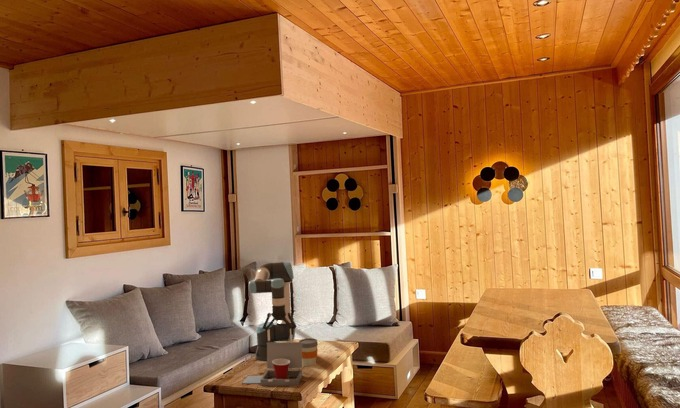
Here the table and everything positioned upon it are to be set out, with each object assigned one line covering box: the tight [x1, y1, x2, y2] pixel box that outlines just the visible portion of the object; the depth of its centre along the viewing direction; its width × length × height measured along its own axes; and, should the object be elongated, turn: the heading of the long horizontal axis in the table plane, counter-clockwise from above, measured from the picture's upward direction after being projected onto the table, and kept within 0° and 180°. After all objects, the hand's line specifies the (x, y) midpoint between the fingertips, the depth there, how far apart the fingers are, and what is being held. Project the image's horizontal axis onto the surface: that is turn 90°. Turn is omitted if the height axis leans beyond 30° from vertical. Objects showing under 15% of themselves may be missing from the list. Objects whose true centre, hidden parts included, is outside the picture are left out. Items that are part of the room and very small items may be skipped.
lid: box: [266, 341, 303, 371], centre depth 330 cm, size 16×22×2 cm
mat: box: [241, 375, 264, 385], centre depth 324 cm, size 12×11×1 cm
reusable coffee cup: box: [298, 338, 319, 367], centre depth 351 cm, size 13×13×15 cm
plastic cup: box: [272, 359, 290, 379], centre depth 321 cm, size 11×11×12 cm
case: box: [260, 369, 303, 387], centre depth 321 cm, size 17×22×4 cm
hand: (280, 340), depth 320 cm, fingers open, 13 cm apart
